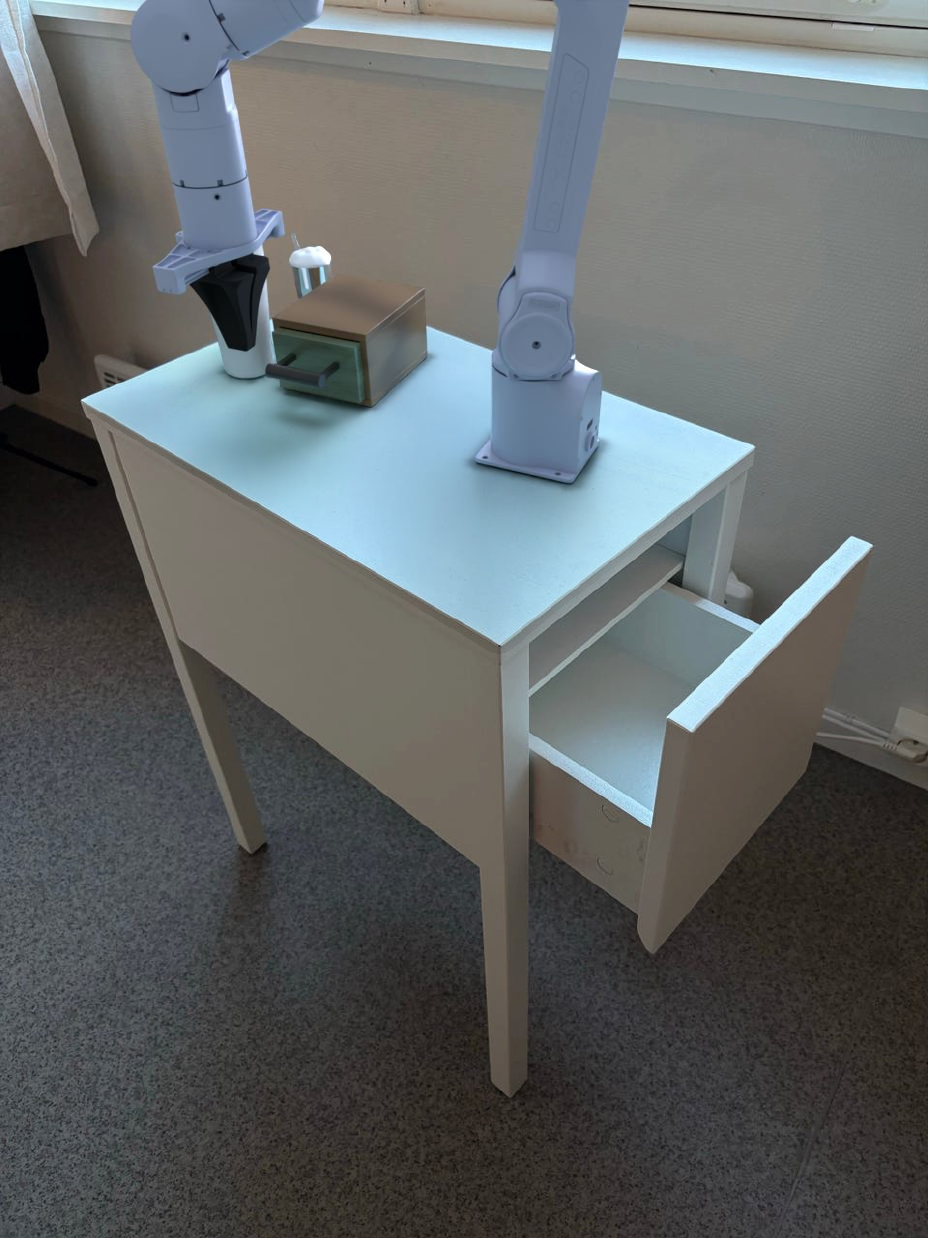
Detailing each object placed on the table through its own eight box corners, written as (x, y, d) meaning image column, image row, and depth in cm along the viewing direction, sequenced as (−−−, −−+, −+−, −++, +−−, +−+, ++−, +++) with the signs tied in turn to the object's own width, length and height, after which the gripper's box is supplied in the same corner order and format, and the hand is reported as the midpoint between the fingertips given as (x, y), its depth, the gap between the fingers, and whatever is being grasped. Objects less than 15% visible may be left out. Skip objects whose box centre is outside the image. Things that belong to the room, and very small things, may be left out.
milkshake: (320, 315, 109) (310, 228, 103) (346, 329, 106) (336, 240, 99) (288, 326, 107) (274, 238, 100) (312, 340, 104) (301, 250, 97)
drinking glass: (206, 368, 99) (175, 224, 89) (260, 349, 102) (235, 209, 92) (239, 390, 95) (210, 242, 85) (294, 369, 98) (272, 225, 89)
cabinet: (372, 407, 92) (365, 334, 87) (282, 388, 95) (271, 317, 90) (428, 356, 100) (425, 287, 95) (344, 340, 104) (337, 273, 99)
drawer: (338, 422, 88) (331, 366, 84) (256, 404, 91) (246, 349, 87) (413, 356, 98) (410, 303, 95) (337, 341, 101) (331, 289, 98)
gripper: (223, 148, 76) (251, 308, 85) (103, 199, 66) (149, 373, 75) (295, 156, 74) (316, 320, 83) (182, 210, 64) (220, 389, 73)
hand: (241, 346), depth 79 cm, fingers closed
